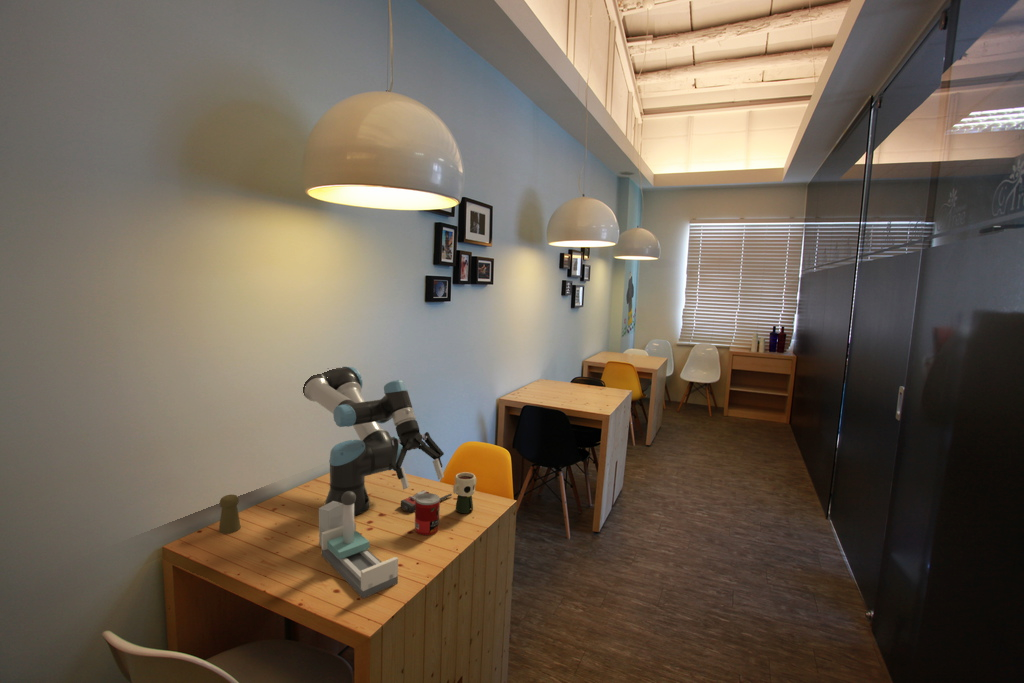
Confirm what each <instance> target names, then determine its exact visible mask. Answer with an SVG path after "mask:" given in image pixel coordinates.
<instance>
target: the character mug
mask: <svg viewBox="0 0 1024 683" xmlns="http://www.w3.org/2000/svg"><path fill="white" fill-rule="evenodd" d="M454 482H455V483H454V484H453V486H452V487H453V489H452V490H453V494H456V495H457V497H456V504H455V510H456V511H457V512H459V513H460V514H461V513H462V514H468V513H469V514H470V511H471V512H473V510H474V502H473V495H474V494H475V492H476V485H477V477H476V475H475V474H474V473H472V472H467V471H463V472H459V473H457V474H456V475H455V476H454Z"/></svg>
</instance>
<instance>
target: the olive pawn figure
mask: <svg viewBox="0 0 1024 683" xmlns="http://www.w3.org/2000/svg"><path fill="white" fill-rule="evenodd" d="M239 501H240V500H239V497H238V495H235V494H227V495H224V496H222V497H221V498H220V500H219V507H220V508H221V513H220V520H219V528H218V532H219V534H222V535H229V534H233V533H237V532H238V531H239V530H241V526H242V525H241V521H240V517H239V516H240V515H239V510H238V504H239Z"/></svg>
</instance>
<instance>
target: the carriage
mask: <svg viewBox="0 0 1024 683" xmlns="http://www.w3.org/2000/svg"><path fill="white" fill-rule="evenodd" d="M341 501H342V503H343V536H341V537H338V538H335V539H332V540H329V541H327V548H328V549H329V550H330V551H331V552H332V553H333V554H334V555H335V556H336V557H337V558H338V559H339V560H340V559H342V558H345V557H348V556H350V555H353V554H356V553H358V552H361V551H364V550H366V549H368V550H369V549H370V544H371V543H370V541H369V540H368V539H367V538H366V537H365V536H364V535H362V534H361V533H360V532H359V531H357V530H356V532H354V522H355V516H354V502H355V501H356V495H355V493H354V492H352V491H347V492H345V493H344V494H343V495H342V498H341Z"/></svg>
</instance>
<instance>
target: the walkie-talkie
mask: <svg viewBox="0 0 1024 683" xmlns="http://www.w3.org/2000/svg"><path fill="white" fill-rule="evenodd" d="M424 493H430V492H429V491H428V490H421V491H418V492H416V493H415V494H414V495H411V496H409V497H407V498H404V499H402V500H400V508H401V509H403V510H405V511H407V512H409V513H415V500H416V497H417V496H418V495H420V494H424ZM451 496H453V495H452V493H448V494H446V495H444V496H442V497H439V498H440V502H441V501H443V500H446V499H447V498H448V497H451Z"/></svg>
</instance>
